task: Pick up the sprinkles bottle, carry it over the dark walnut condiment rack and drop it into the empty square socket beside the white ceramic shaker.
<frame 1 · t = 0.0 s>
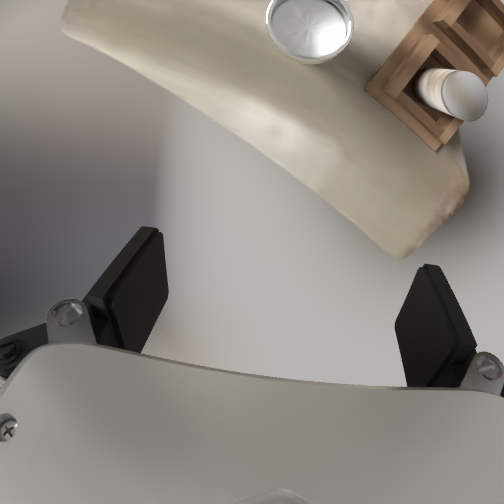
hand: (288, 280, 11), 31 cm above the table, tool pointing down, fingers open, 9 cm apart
silver metal can: (305, 39, 32), on the table
condiment rack: (450, 55, 29), on the table
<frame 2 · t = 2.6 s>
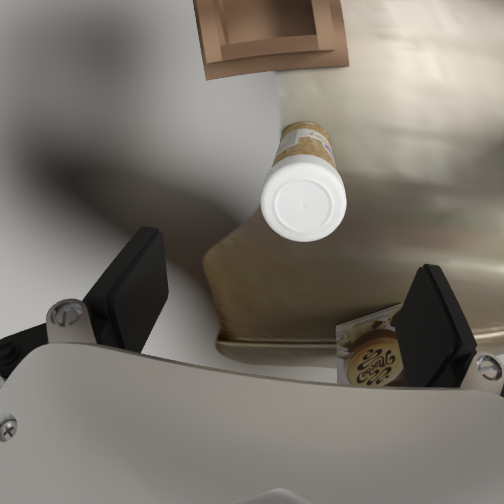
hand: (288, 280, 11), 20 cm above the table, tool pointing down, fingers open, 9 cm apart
sprinkles bottle: (304, 144, 28), on the table
coffee box: (375, 328, 38), on the table
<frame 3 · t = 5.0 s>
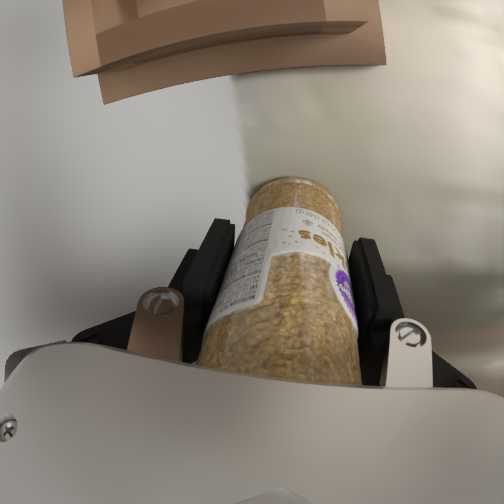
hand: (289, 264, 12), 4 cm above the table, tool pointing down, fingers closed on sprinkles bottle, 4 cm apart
sprinkles bottle: (292, 216, 16), on the table, touching gripper
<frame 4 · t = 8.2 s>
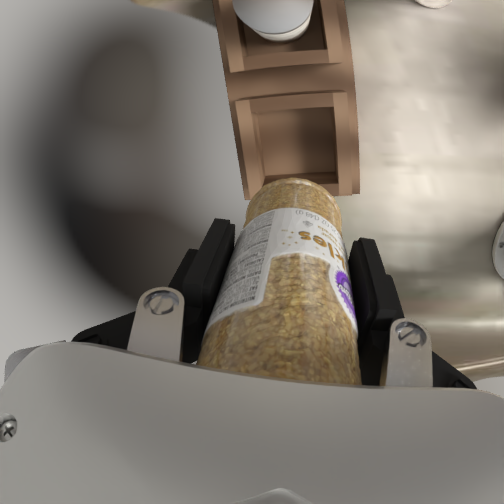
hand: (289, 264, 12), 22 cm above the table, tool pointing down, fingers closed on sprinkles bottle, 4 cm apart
sprinkles bottle: (292, 217, 16), point 18 cm above the table, touching gripper
condiment rack: (290, 79, 27), on the table
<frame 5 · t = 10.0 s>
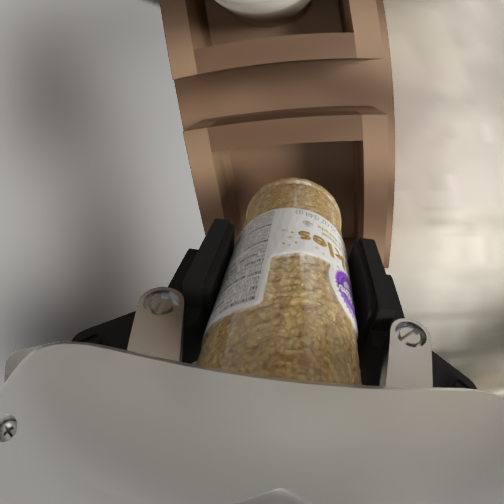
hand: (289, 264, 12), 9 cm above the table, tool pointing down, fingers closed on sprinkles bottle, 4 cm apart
sprinkles bottle: (292, 217, 16), point 5 cm above the table, touching gripper
condiment rack: (284, 85, 16), on the table
when the fingers open (6 cm above the table, at t = 11.4 s): sprinkles bottle drops 1 cm, resting on condiment rack.
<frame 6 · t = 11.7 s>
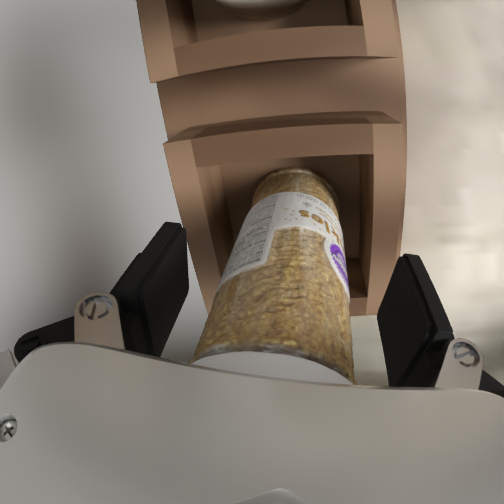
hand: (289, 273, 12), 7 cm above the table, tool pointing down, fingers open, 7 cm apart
sprinkles bottle: (295, 204, 17), point 1 cm above the table, touching condiment rack
condiment rack: (281, 87, 14), on the table
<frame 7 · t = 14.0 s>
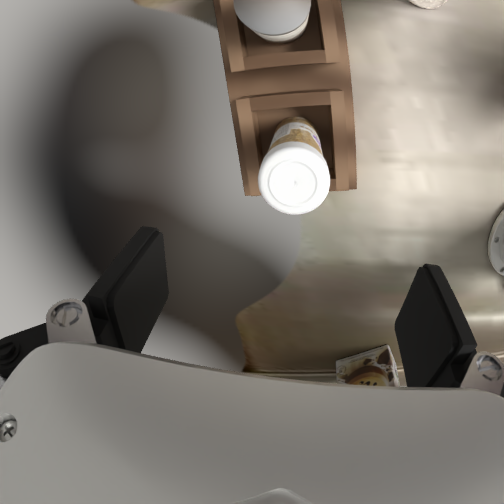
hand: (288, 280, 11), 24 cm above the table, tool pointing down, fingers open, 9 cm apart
sprinkles bottle: (296, 137, 31), point 1 cm above the table, touching condiment rack
condiment rack: (288, 78, 28), on the table
coffee box: (366, 361, 49), on the table
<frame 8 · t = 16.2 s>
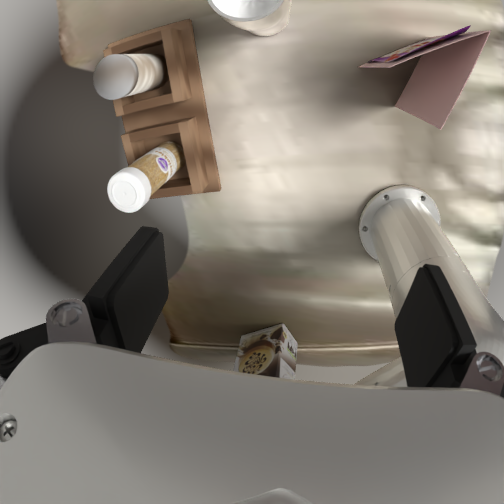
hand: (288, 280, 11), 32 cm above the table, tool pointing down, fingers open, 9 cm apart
sprinkles bottle: (171, 155, 42), point 1 cm above the table, touching condiment rack
silver metal can: (265, 14, 31), on the table
condiment rack: (163, 112, 40), on the table
coffee box: (269, 338, 60), on the table
greeting card: (405, 70, 32), on the table
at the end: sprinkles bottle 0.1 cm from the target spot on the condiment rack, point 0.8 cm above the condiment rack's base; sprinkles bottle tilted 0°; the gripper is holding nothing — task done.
